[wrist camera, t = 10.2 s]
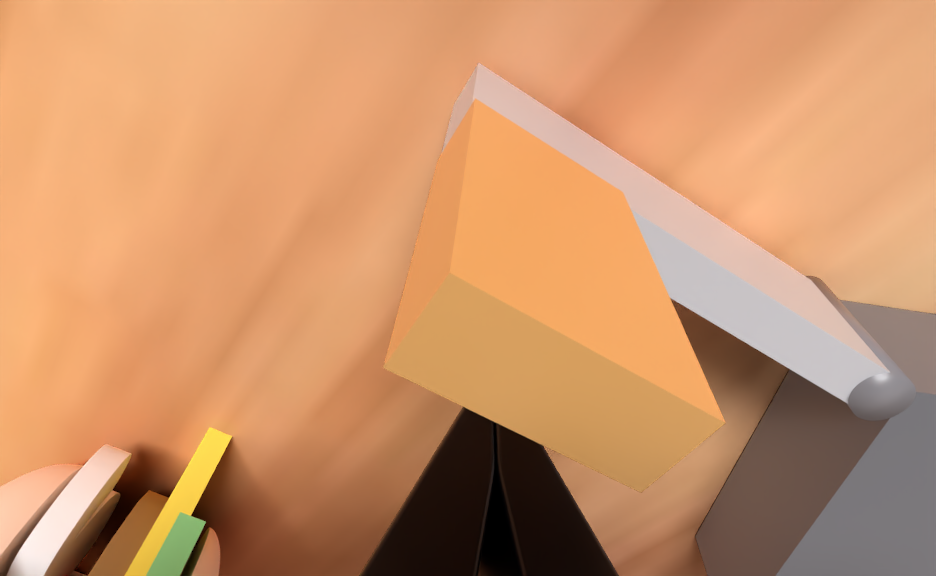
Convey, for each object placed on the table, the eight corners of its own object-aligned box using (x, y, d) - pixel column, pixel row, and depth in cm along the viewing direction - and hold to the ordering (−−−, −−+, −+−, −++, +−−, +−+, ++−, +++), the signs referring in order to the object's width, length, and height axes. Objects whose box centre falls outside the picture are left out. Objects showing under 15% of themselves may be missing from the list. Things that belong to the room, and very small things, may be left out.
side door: (799, 323, 15) (1083, 707, 8) (452, 105, 13) (383, 367, 5) (837, 290, 15) (1181, 671, 7) (481, 56, 12) (449, 272, 5)
